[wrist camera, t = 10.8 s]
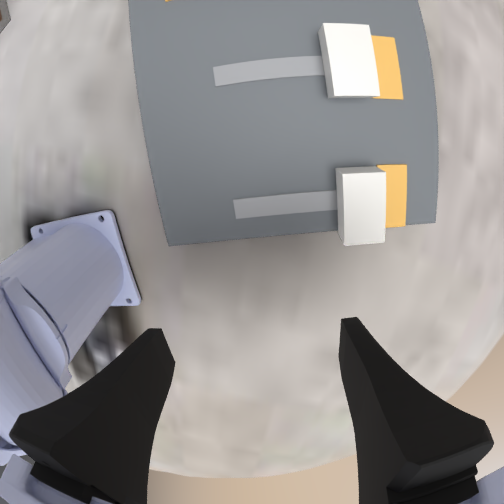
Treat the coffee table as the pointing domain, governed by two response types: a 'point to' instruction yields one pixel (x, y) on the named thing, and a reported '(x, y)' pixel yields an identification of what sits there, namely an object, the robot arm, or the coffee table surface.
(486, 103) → the coffee table surface
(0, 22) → the white wooden shelf tower
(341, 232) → the switch
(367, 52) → the switch
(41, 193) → the coffee table surface
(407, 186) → the switch board
